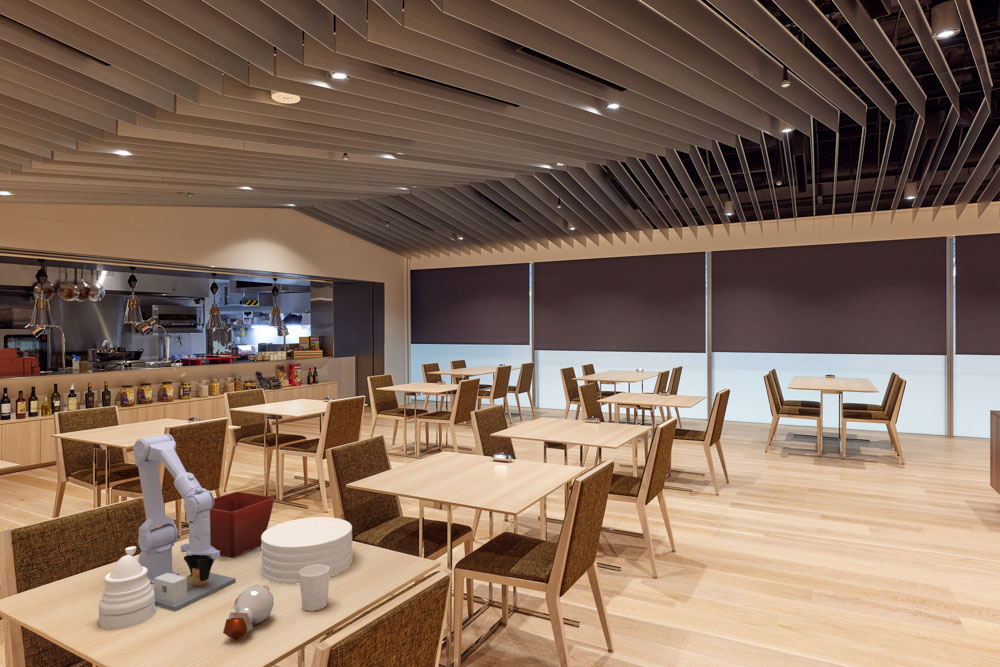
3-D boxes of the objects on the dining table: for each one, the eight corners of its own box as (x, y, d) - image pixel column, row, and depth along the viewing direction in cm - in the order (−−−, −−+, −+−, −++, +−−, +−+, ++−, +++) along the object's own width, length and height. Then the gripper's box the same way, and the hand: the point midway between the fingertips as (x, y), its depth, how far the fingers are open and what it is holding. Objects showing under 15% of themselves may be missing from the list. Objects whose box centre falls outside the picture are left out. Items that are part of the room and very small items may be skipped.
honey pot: (120, 605, 168) (118, 542, 168) (165, 606, 168) (163, 542, 167) (87, 629, 155) (85, 560, 155) (135, 629, 155) (134, 560, 154)
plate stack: (370, 560, 199) (369, 525, 199) (301, 592, 176) (301, 553, 176) (313, 544, 214) (312, 512, 214) (243, 572, 191) (242, 536, 191)
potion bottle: (269, 617, 164) (242, 653, 149) (239, 597, 163) (209, 631, 148) (286, 591, 162) (261, 626, 147) (256, 571, 162) (228, 603, 147)
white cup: (303, 600, 170) (303, 565, 170) (332, 598, 171) (331, 563, 171) (296, 613, 163) (296, 576, 162) (326, 611, 163) (326, 575, 163)
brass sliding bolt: (164, 597, 169) (163, 579, 169) (201, 580, 180) (201, 564, 180) (171, 599, 168) (171, 581, 168) (208, 582, 179) (208, 565, 179)
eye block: (146, 602, 170) (146, 578, 169) (207, 575, 188) (207, 553, 188) (175, 611, 164) (175, 585, 164) (235, 582, 183) (235, 559, 182)
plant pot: (276, 543, 215) (275, 496, 215) (232, 562, 198) (232, 512, 198) (237, 536, 223) (236, 491, 223) (192, 554, 206) (191, 505, 205)
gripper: (170, 534, 178) (171, 579, 178) (204, 541, 171) (205, 588, 172) (192, 527, 184) (192, 571, 184) (225, 533, 178) (226, 579, 178)
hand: (200, 579), depth 178 cm, fingers closed on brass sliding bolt, 3 cm apart
